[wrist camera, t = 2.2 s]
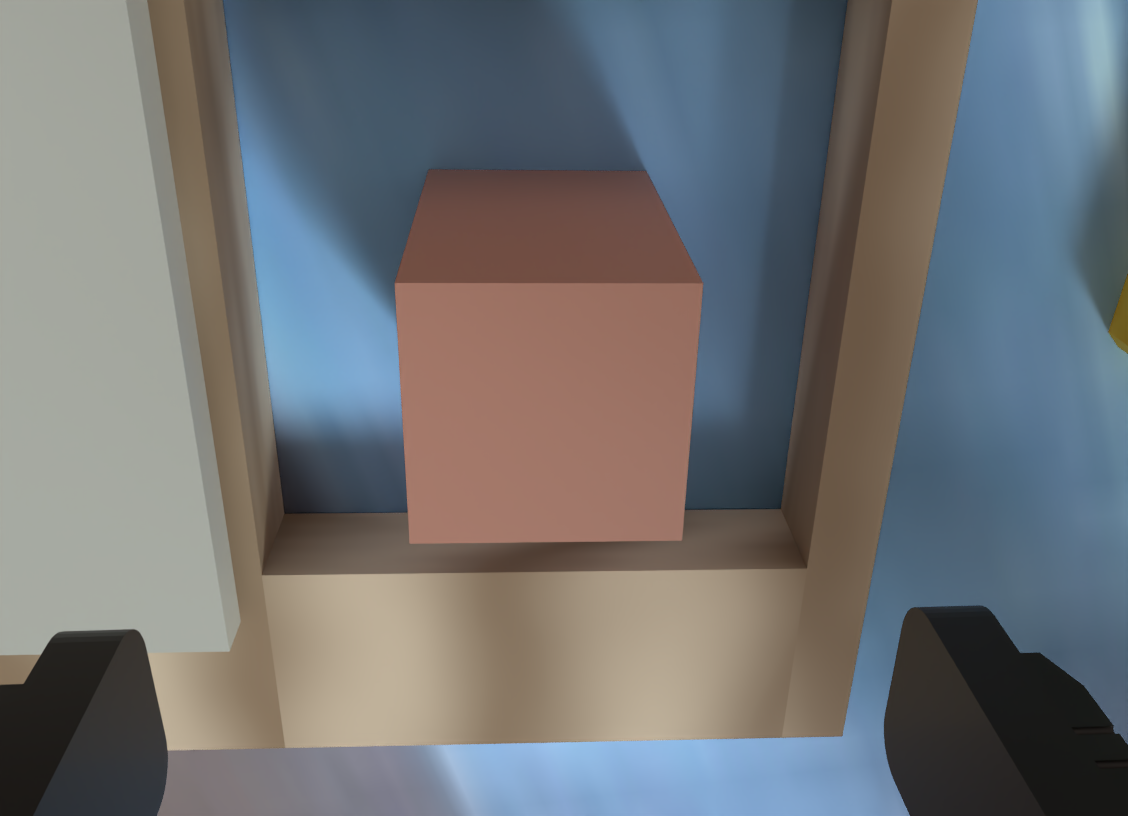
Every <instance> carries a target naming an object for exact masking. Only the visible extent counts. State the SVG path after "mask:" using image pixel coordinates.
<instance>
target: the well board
mask: <svg viewBox="0 0 1128 816" xmlns="http://www.w3.org/2000/svg"><path fill="white" fill-rule="evenodd" d="M977 2H978V0H848V2H847V10H846V17H845V25H844V32H843V40H842V47H841V55H840V63H839V70H838V78H837V85H836V93H835V101H834V108H833V116H832V123H831V131H830V139H829V146H828V154H827V161H826V169H825V176H824V184H823V192H822V199H821V207H820V214H819V222H818V230H817V237H816V245H815V252H814V260H813V268H812V275H811V283H810V290H809V298H808V305H807V313H806V321H805V328H804V336H803V343H802V351H801V359H800V366H799V374H798V381H797V389H796V396H795V404H794V412H793V419H792V427H791V434H790V442H789V450H788V457H787V465H786V472H785V480H784V488H783V495H782V503H781V509H731V510H684V523H683V535H682V541H607V542H519V543H431V544H410V542H409V524H408V513H308V514H284V506H283V498H282V490H281V481H280V473H279V465H278V456H277V448H276V440H275V431H274V423H273V415H272V406H271V398H270V390H269V381H268V373H267V365H266V356H265V348H264V340H263V332H262V323H261V315H260V307H259V298H258V290H257V282H256V273H255V265H254V257H253V248H252V240H251V232H250V223H249V215H248V207H247V198H246V190H245V182H244V173H243V165H242V157H241V149H240V140H239V132H238V124H237V115H236V107H235V99H234V90H233V82H232V74H231V65H230V57H229V49H228V40H227V32H226V24H225V15H224V7H223V0H147V3H148V9H149V16H150V22H151V29H152V36H153V42H154V49H155V56H156V62H157V69H158V76H159V82H160V89H161V95H162V102H163V109H164V115H165V122H166V129H167V135H168V142H169V149H170V155H171V162H172V169H173V175H174V182H175V188H176V195H177V202H178V208H179V215H180V222H181V228H182V235H183V242H184V248H185V255H186V261H187V268H188V275H189V281H190V288H191V295H192V301H193V308H194V315H195V321H196V328H197V334H198V341H199V348H200V354H201V361H202V368H203V374H204V381H205V388H206V394H207V401H208V407H209V414H210V421H211V427H212V434H213V441H214V447H215V454H216V461H217V467H218V474H219V480H220V487H221V494H222V500H223V507H224V514H225V520H226V527H227V534H228V540H229V547H230V553H231V560H232V567H233V573H234V580H235V587H236V593H237V600H238V607H239V613H240V620H241V622H240V625H239V628H238V630H237V633H236V636H235V638H234V641H233V644H232V646H231V649H230V652H172V653H147V654H148V658H149V663H150V667H151V672H152V676H153V681H154V686H155V690H156V695H157V699H158V704H159V708H160V713H161V717H162V722H163V727H164V731H165V736H166V741H167V750H212V749H260V748H308V747H356V746H404V745H451V744H499V743H547V742H595V741H643V740H691V739H738V738H786V737H834V736H842V735H843V730H844V724H845V719H846V713H847V708H848V702H849V697H850V692H851V686H852V681H853V675H854V670H855V664H856V659H857V654H858V648H859V643H860V637H861V632H862V626H863V621H864V616H865V610H866V605H867V599H868V594H869V588H870V583H871V578H872V572H873V567H874V561H875V556H876V550H877V545H878V540H879V534H880V529H881V523H882V518H883V512H884V507H885V502H886V496H887V491H888V485H889V480H890V475H891V469H892V464H893V458H894V453H895V447H896V442H897V437H898V431H899V426H900V420H901V415H902V409H903V404H904V399H905V393H906V388H907V382H908V377H909V371H910V366H911V361H912V355H913V350H914V344H915V339H916V333H917V328H918V323H919V317H920V312H921V306H922V301H923V295H924V290H925V285H926V279H927V274H928V268H929V263H930V257H931V252H932V247H933V241H934V236H935V230H936V225H937V219H938V214H939V209H940V203H941V198H942V192H943V187H944V181H945V176H946V171H947V165H948V160H949V154H950V149H951V143H952V138H953V133H954V127H955V122H956V116H957V111H958V106H959V100H960V95H961V89H962V84H963V78H964V73H965V68H966V62H967V57H968V51H969V46H970V40H971V35H972V30H973V24H974V19H975V13H976V8H977ZM39 657H40V655H0V685H6V684H24V682H25V680H26V679H27V677H28V675H29V674H30V672H31V670H32V669H33V667H34V665H35V664H36V662H37V660H38V659H39Z"/></svg>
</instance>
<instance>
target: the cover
mask: <svg viewBox="0 0 1128 816" xmlns="http://www.w3.org/2000/svg"><path fill="white" fill-rule="evenodd" d="M240 622H241V620H240V613H239V607H238V600H237V593H236V587H235V580H234V573H233V567H232V560H231V553H230V547H229V540H228V534H227V527H226V520H225V514H224V507H223V500H222V494H221V487H220V480H219V474H218V467H217V461H216V454H215V447H214V441H213V434H212V427H211V421H210V414H209V407H208V401H207V394H206V388H205V381H204V374H203V368H202V361H201V354H200V348H199V341H198V334H197V328H196V321H195V315H194V308H193V301H192V295H191V288H190V281H189V275H188V268H187V261H186V255H185V248H184V242H183V235H182V228H181V222H180V215H179V208H178V202H177V195H176V188H175V182H174V175H173V169H172V162H171V155H170V149H169V142H168V135H167V129H166V122H165V115H164V109H163V102H162V95H161V89H160V82H159V76H158V69H157V62H156V56H155V49H154V42H153V36H152V29H151V22H150V16H149V9H148V3H147V0H0V655H41V654H42V652H43V650H44V649H45V647H46V645H47V644H48V642H49V641H50V639H51V638H52V637H53V636H54V635H55V634H56V633H58V632H62V631H88V630H120V629H135V630H137V631H139V632H140V634H141V635H142V637H143V639H144V642H145V645H146V649H147V653H172V652H230V649H231V646H232V644H233V641H234V638H235V636H236V633H237V630H238V628H239V625H240Z"/></svg>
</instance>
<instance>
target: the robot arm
mask: <svg viewBox="0 0 1128 816" xmlns="http://www.w3.org/2000/svg"><path fill="white" fill-rule="evenodd" d="M884 740H885V749H886V754H887V760H888V764H889V767H890V771H891V774H892V776H893V779H894V781H895V783H896V786H897V788H898V790H899V792H900V794H901V797H902V799H903V801H904V803H905V806H906V808H907V810H908V812H909V815H910V816H1128V745H1127V743H1126V742H1125V741H1124V739H1123V738H1122V737H1121V735H1120V734H1115V733H1114V730H1113V725H1112V723H1111V722H1110V720H1109V719H1108V718H1107V716H1106V715H1105V714H1104V712H1103V711H1102V710H1101V708H1100V707H1099V706H1098V704H1097V703H1096V702H1095V700H1094V699H1093V698H1092V696H1091V695H1090V694H1089V692H1088V691H1087V690H1086V688H1085V687H1084V686H1083V685H1082V684H1081V683H1079V682H1078V681H1077V680H1075V679H1074V678H1073V677H1071V676H1070V675H1069V674H1067V673H1066V672H1065V671H1063V670H1062V669H1061V668H1059V667H1058V666H1057V665H1055V664H1054V663H1053V662H1051V661H1050V660H1049V659H1047V658H1046V657H1045V656H1043V655H1042V654H1041V653H1020V652H1019V651H1018V649H1017V648H1016V646H1015V645H1014V644H1013V642H1012V641H1011V639H1010V638H1009V636H1008V635H1007V633H1006V632H1005V631H1004V629H1003V628H1002V626H1001V625H1000V623H999V622H998V620H997V619H996V618H995V616H994V615H993V614H992V612H991V611H990V610H989V609H987V608H986V607H984V606H947V607H914V608H911V609H910V610H909V611H908V612H907V614H906V616H905V618H904V621H903V625H902V630H901V635H900V640H899V645H898V650H897V655H896V661H895V666H894V671H893V676H892V681H891V686H890V691H889V697H888V702H887V707H886V712H885V719H884ZM167 767H168V750H167V741H166V736H165V731H164V727H163V722H162V717H161V713H160V708H159V704H158V699H157V695H156V690H155V686H154V681H153V676H152V672H151V667H150V663H149V658H148V654H147V649H146V645H145V642H144V639H143V637H142V635H141V634H140V632H139V631H137V630H135V629H120V630H88V631H62V632H58V633H56V634H55V635H54V636H53V637H52V638H51V639H50V641H49V642H48V644H47V645H46V647H45V649H44V650H43V652H42V654H41V655H40V657H39V659H38V660H37V662H36V664H35V665H34V667H33V669H32V670H31V672H30V674H29V675H28V677H27V679H26V680H25V682H24V684H6V685H0V816H157V813H158V811H159V808H160V805H161V802H162V799H163V795H164V790H165V785H166V778H167Z"/></svg>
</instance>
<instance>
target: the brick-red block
mask: <svg viewBox="0 0 1128 816" xmlns="http://www.w3.org/2000/svg"><path fill="white" fill-rule="evenodd" d="M702 293H703V282H702V280H701V278H700V276H699V274H698V272H697V270H696V268H695V266H694V264H693V262H692V260H691V258H690V256H689V254H688V252H687V250H686V248H685V246H684V244H683V242H682V240H681V238H680V236H679V235H678V233H677V231H676V229H675V227H674V225H673V223H672V221H671V219H670V217H669V215H668V213H667V211H666V209H665V207H664V205H663V203H662V201H661V199H660V197H659V195H658V193H657V191H656V189H655V187H654V185H653V183H652V181H651V179H650V177H649V175H648V173H647V171H586V170H448V169H429V170H428V173H427V176H426V180H425V183H424V186H423V190H422V193H421V196H420V200H419V203H418V206H417V210H416V213H415V216H414V220H413V223H412V227H411V230H410V233H409V237H408V240H407V243H406V247H405V250H404V253H403V257H402V260H401V263H400V267H399V270H398V273H397V277H396V280H395V298H396V316H397V333H398V351H399V368H400V385H401V403H402V420H403V437H404V455H405V472H406V490H407V507H408V524H409V542H410V544H431V543H519V542H607V541H682V535H683V523H684V510H685V498H686V486H687V474H688V462H689V450H690V438H691V426H692V414H693V402H694V390H695V378H696V365H697V353H698V341H699V329H700V317H701V305H702Z"/></svg>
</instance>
